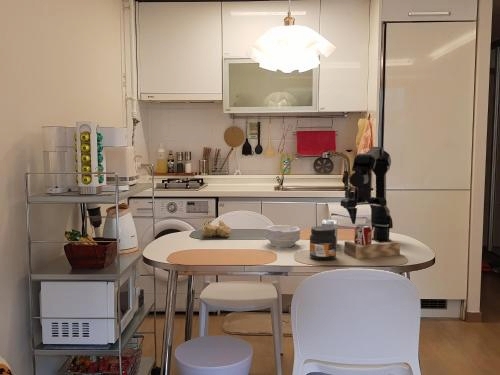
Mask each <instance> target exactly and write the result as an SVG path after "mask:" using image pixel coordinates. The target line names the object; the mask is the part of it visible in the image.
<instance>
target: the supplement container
mask: <svg viewBox="0 0 500 375" xmlns="http://www.w3.org/2000/svg"><path fill="white" fill-rule="evenodd" d="M310 233H311V234H310V235H309V257H310V258H311V260H315V261H320V260H321V261H325V262H328V261H333V260H334V259H336V258H337V248H336V239H337V240H338V236H337V237H336V236H335V228H333V227H329V226H322V225H317V226H316V225H315V226H312V227H311V228H310Z"/></svg>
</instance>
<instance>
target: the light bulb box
mask: <svg viewBox="0 0 500 375" xmlns="http://www.w3.org/2000/svg"><path fill="white" fill-rule="evenodd" d="M321 226H329V227H333V228H335V236H336V237H337V239H336V249H337V248H338V220H337V219H322V222H321Z"/></svg>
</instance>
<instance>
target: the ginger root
mask: <svg viewBox="0 0 500 375" xmlns="http://www.w3.org/2000/svg"><path fill="white" fill-rule="evenodd" d="M218 223H219V224H218V225H219V226H218V225H213V224H207V223H206V225H205V227H204V229H203V230H202V234H204V236H205V237H209V238H211V237H213V236H214V237H223V238H228V237H229V236H231V235H232V229H231V227H230V226H228V225H227V224H226V223H225V222H224V221H222V220H219V222H218Z"/></svg>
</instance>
